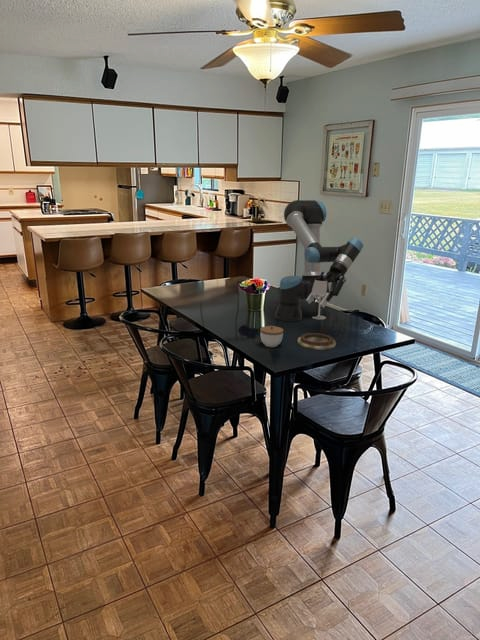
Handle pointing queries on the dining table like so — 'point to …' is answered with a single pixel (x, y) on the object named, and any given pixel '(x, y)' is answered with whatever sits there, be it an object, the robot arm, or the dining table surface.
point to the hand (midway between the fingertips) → (314, 303)
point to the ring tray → (316, 341)
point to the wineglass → (320, 293)
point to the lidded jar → (271, 335)
